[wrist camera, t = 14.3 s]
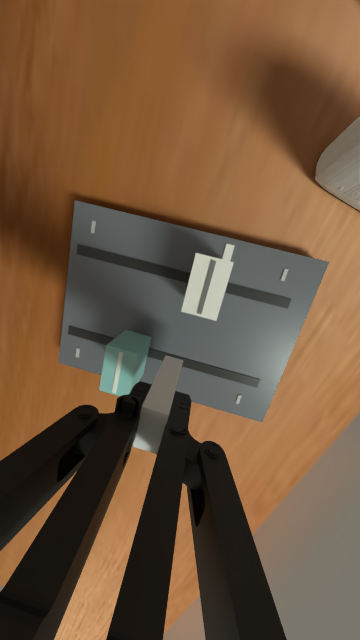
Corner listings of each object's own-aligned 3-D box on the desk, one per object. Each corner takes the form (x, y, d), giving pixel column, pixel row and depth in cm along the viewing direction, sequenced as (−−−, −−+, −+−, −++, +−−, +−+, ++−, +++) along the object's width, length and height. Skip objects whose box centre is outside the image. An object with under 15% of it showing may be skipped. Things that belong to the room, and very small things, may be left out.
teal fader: (127, 328, 21) (105, 345, 16) (152, 335, 20) (137, 354, 16) (120, 365, 22) (98, 390, 17) (144, 372, 22) (128, 399, 17)
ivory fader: (198, 255, 18) (195, 252, 14) (227, 263, 18) (234, 262, 14) (187, 301, 19) (180, 311, 15) (214, 308, 19) (216, 321, 15)
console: (87, 206, 21) (74, 199, 19) (317, 262, 19) (329, 262, 17) (70, 355, 25) (57, 363, 23) (257, 409, 24) (262, 423, 22)
